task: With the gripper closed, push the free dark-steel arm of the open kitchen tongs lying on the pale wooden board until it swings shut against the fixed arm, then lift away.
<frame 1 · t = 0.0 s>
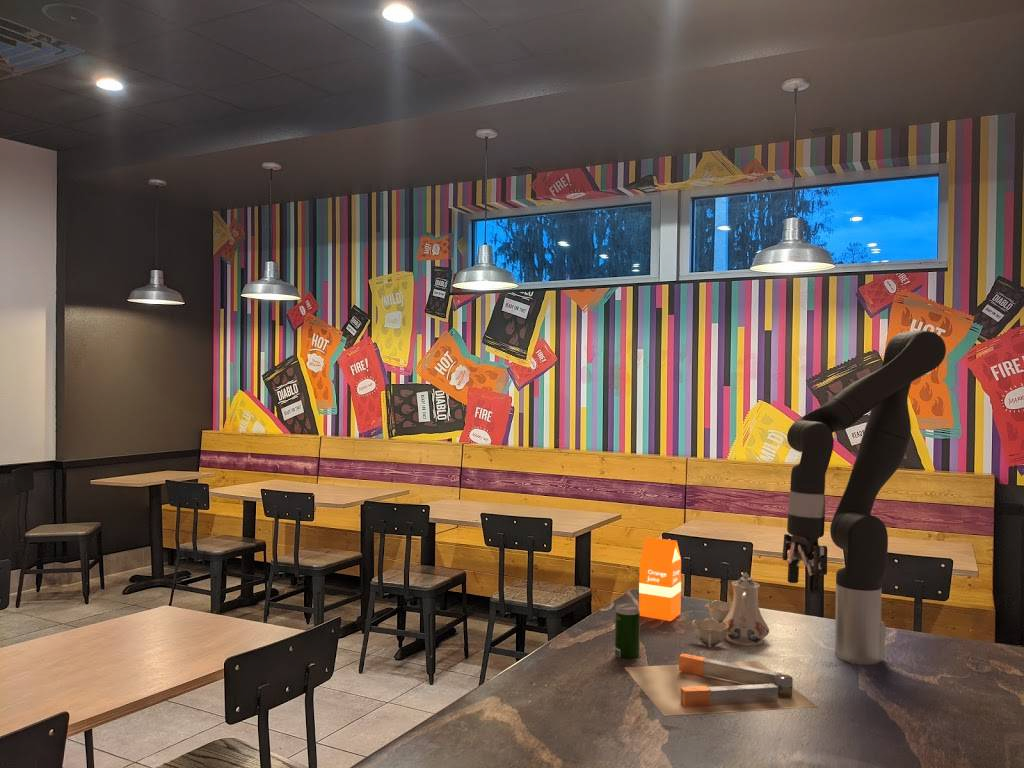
hand: (802, 587, 173), 17 cm above the table, tool pointing down, fingers open, 8 cm apart
orange juice: (659, 615, 209), on the table
tong fixed arm: (783, 696, 153), resting on cutting board
chinaware: (731, 639, 192), on the table
tong free arm: (733, 674, 158), point 3 cm above the table, hinge at 40.0°
cutting board: (715, 693, 158), on the table
beer can: (627, 662, 175), on the table
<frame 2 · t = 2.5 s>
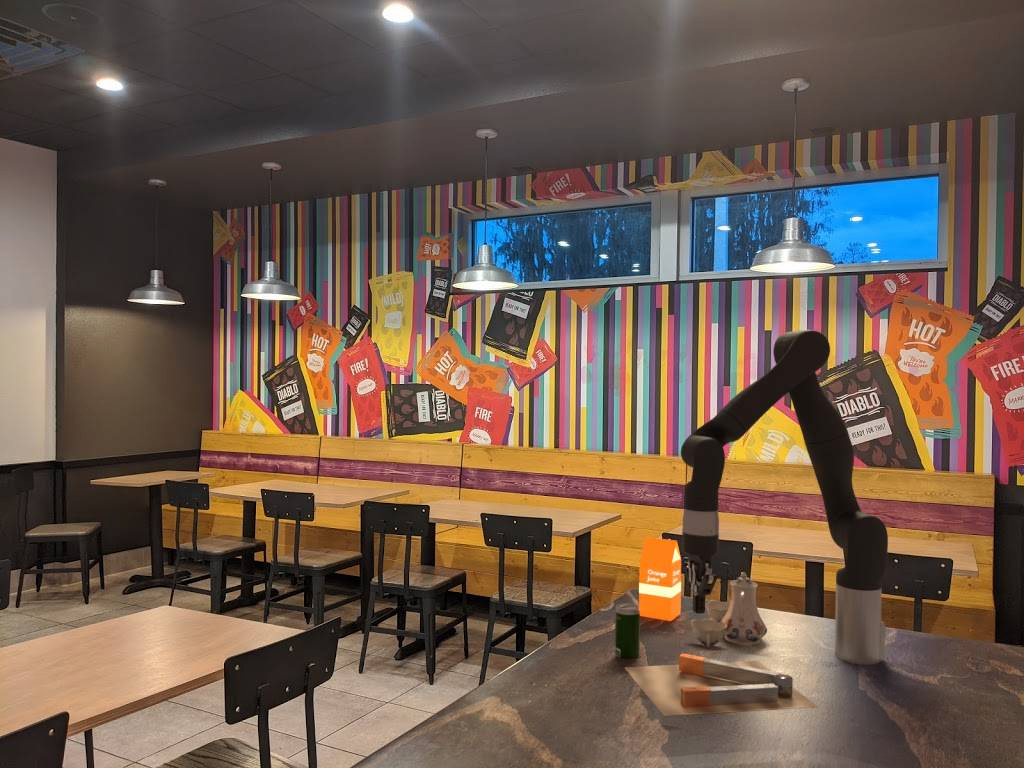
hand: (698, 612, 168), 13 cm above the table, tool pointing down, fingers closed
nothing on the table moved.
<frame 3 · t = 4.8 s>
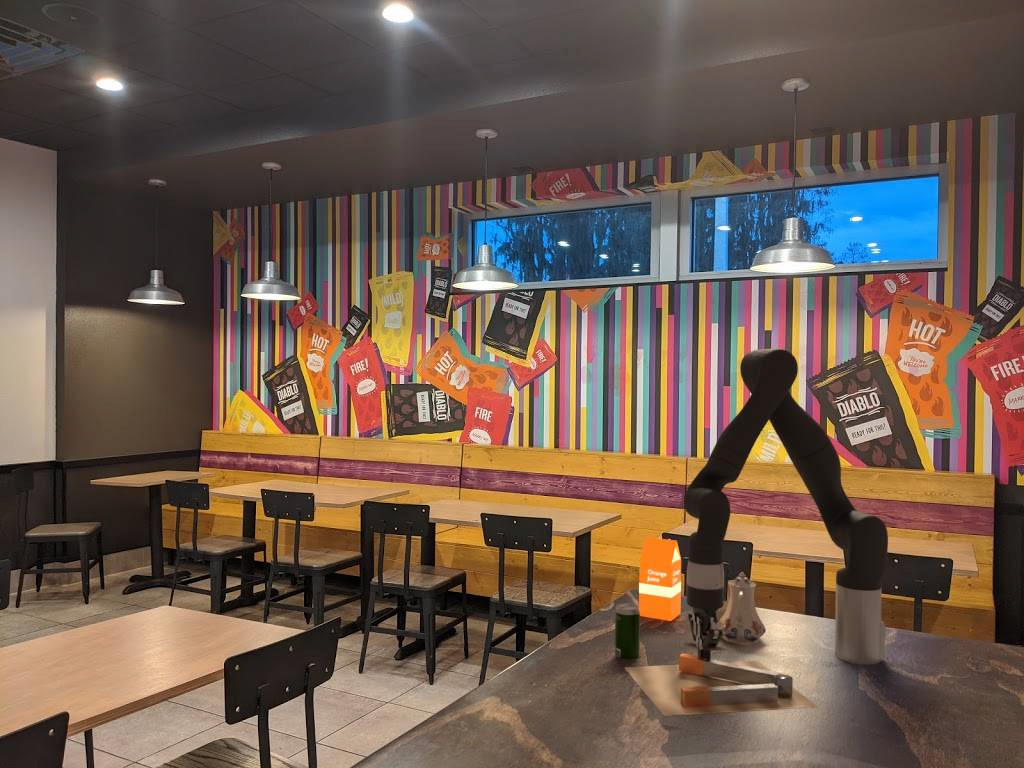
hand: (703, 665, 166), 3 cm above the table, tool pointing down, fingers closed
tong free arm: (733, 674, 158), point 4 cm above the table, hinge at 40.0°, touching gripper
everything else where it was.
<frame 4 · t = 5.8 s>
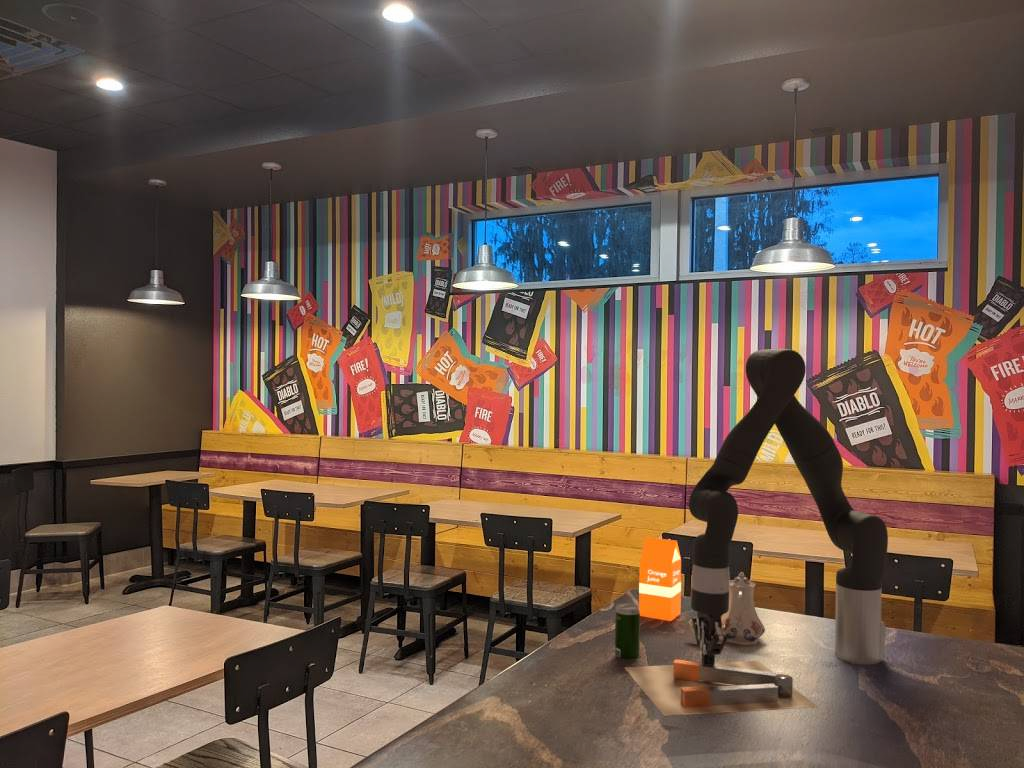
hand: (707, 671, 162), 3 cm above the table, tool pointing down, fingers closed
tong free arm: (731, 677, 156), point 3 cm above the table, hinge at 28.3°, touching gripper
everything else where it was.
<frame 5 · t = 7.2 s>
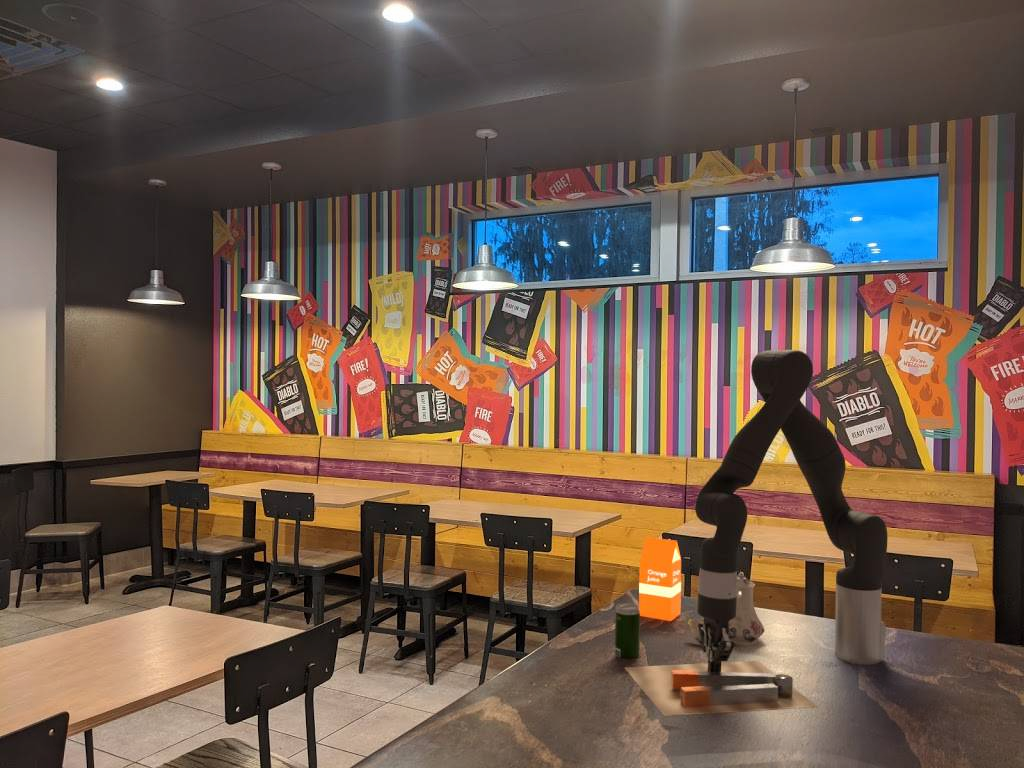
hand: (713, 678, 158), 3 cm above the table, tool pointing down, fingers closed
tong free arm: (732, 683, 154), point 3 cm above the table, hinge at 11.3°, touching gripper
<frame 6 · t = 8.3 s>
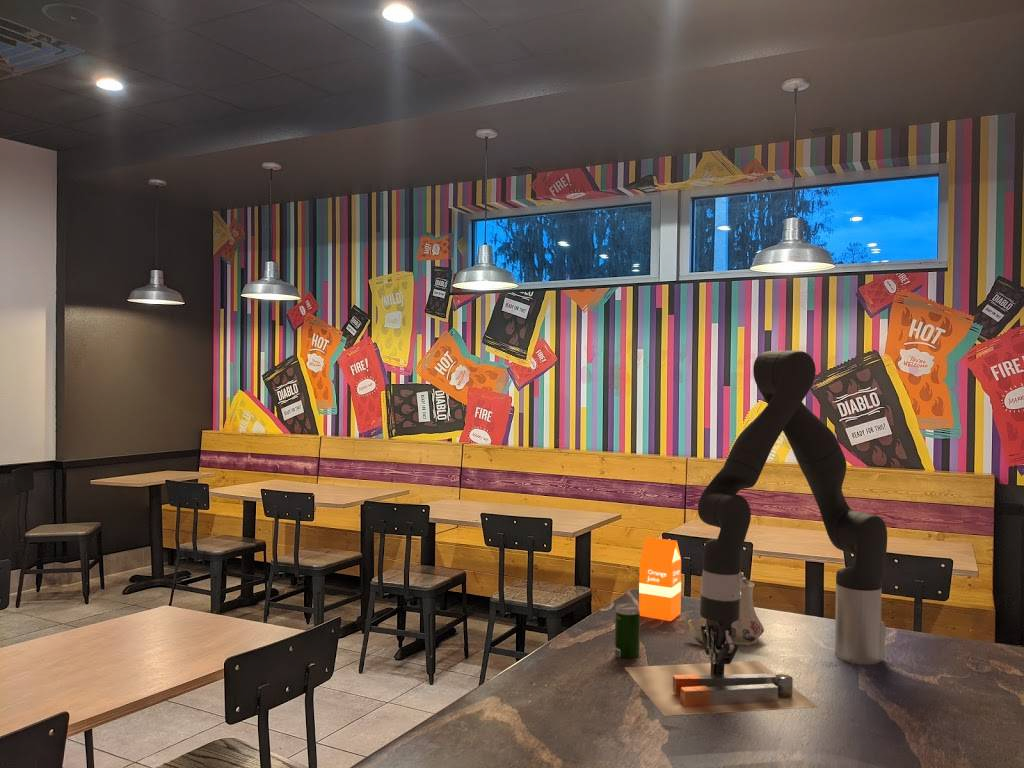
hand: (716, 681, 156), 3 cm above the table, tool pointing down, fingers closed
tong free arm: (733, 685, 153), point 3 cm above the table, hinge at 4.3°, touching gripper
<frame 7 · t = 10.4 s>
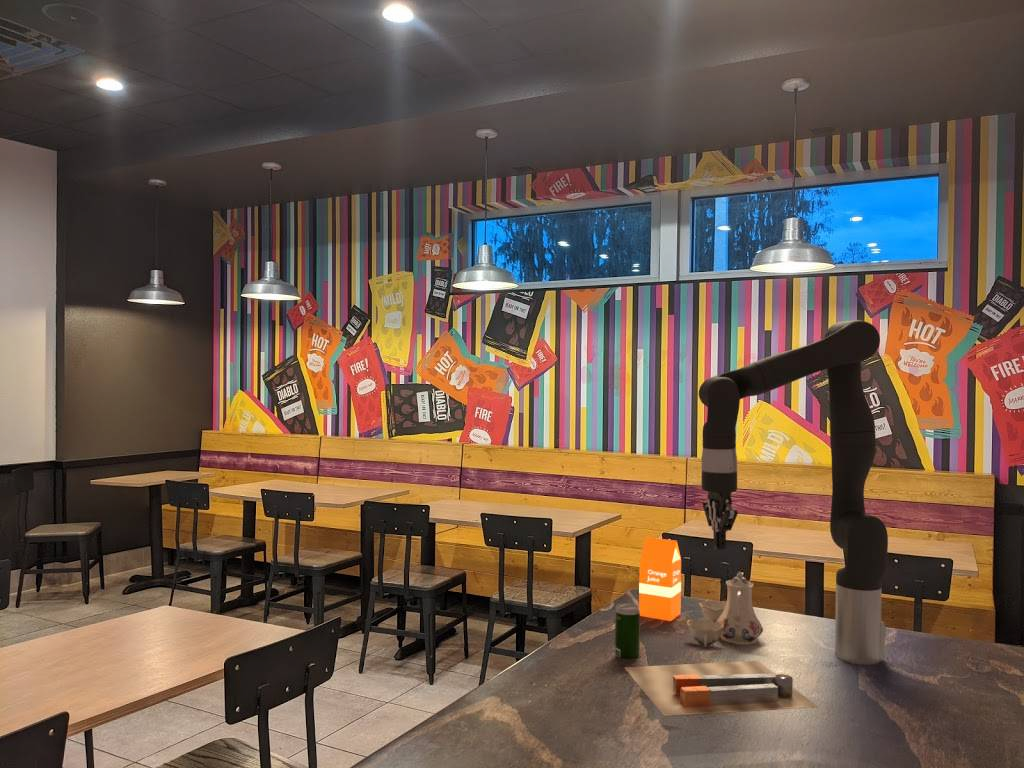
hand: (719, 548, 173), 25 cm above the table, tool pointing down, fingers closed
tong free arm: (733, 685, 152), point 3 cm above the table, hinge at 4.1°
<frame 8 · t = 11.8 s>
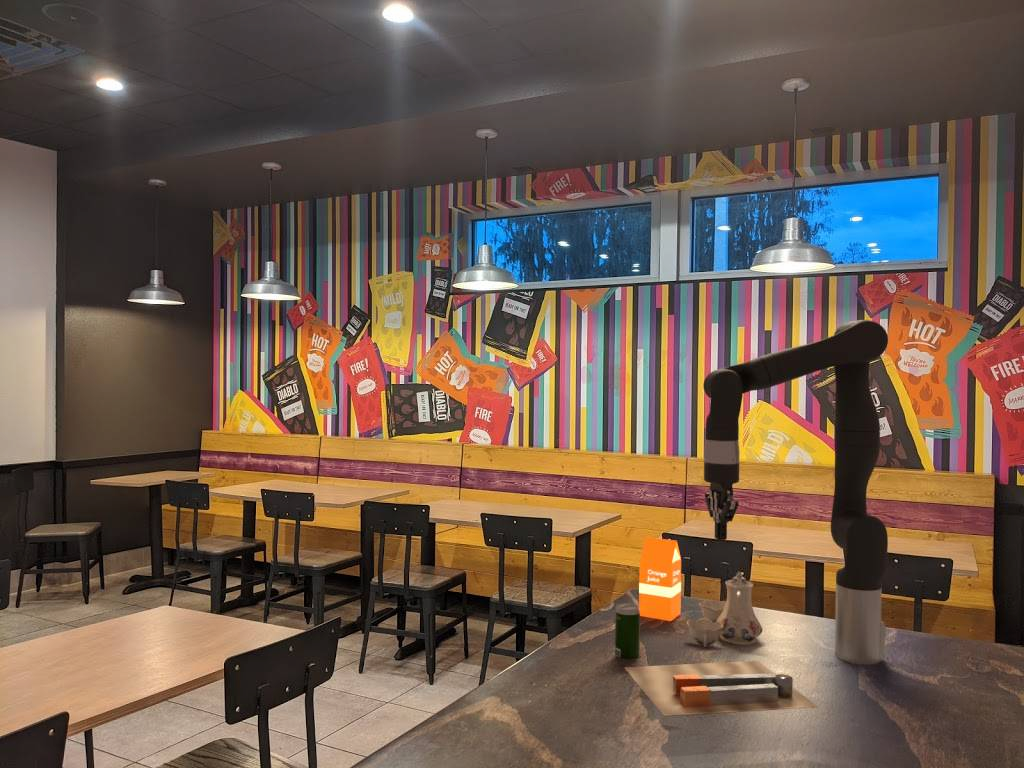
hand: (720, 539, 175), 27 cm above the table, tool pointing down, fingers closed
at the end: tong free arm at +4° (first picture: +40°); beer can moved 0.2 cm from its start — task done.
